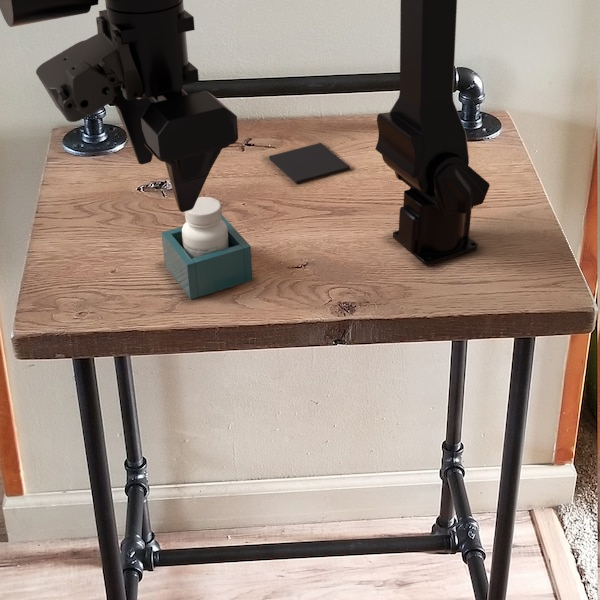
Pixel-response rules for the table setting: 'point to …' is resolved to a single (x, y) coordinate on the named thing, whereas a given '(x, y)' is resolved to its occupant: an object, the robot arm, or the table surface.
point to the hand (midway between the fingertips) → (164, 185)
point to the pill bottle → (204, 228)
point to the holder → (208, 264)
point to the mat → (309, 163)
